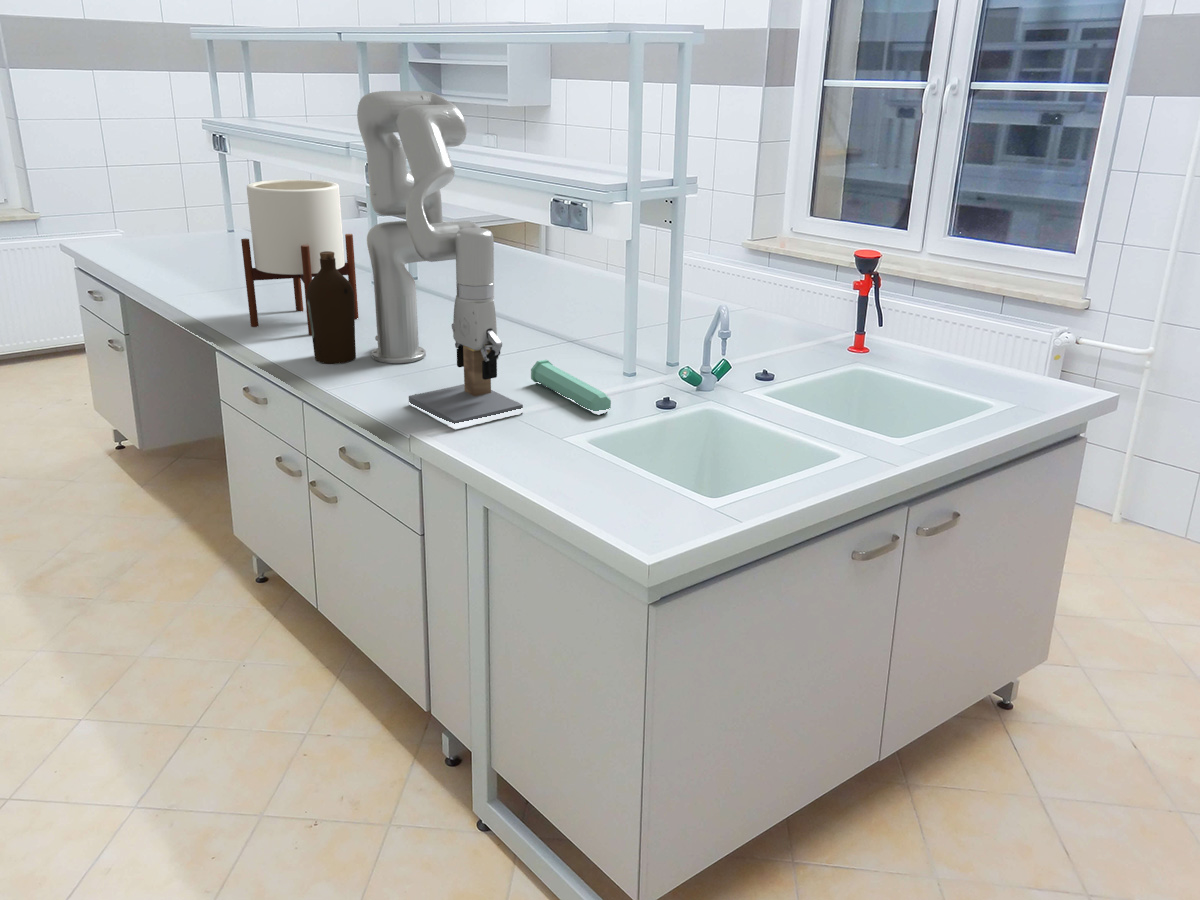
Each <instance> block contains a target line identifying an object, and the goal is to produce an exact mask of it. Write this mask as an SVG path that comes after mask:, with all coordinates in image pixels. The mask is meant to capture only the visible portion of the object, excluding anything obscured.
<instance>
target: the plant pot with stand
mask: <svg viewBox="0 0 1200 900" xmlns="http://www.w3.org/2000/svg"><path fill="white" fill-rule="evenodd" d="M340 194H341V193H340V185H339V184H338V183H336V182H334V181H328V180H319V179H304V178H303V179H299V178H298V179H296V178H295V179H294V178H292V179H291V178H290V179H270V180H262V181H255V182H251V183H249V184H247V185H246V195H247V204H248V212H249V221H250V222H249V223H250V230H251V231H250V232H251V240H252V250H251V245H250V243H251V242H250V238H241V240H240V243H241V250H242V257H243V259H242V260H243V267H244V269H243V270H244V276H245V277H244V278H245V287H246V294H247V296H246V297H247V302H248V303H247V304H248V312H249V320H250V321H249V322H250V327H251V328H257V326H258V327H259V325H260V324H259V315H258V308H257V299H256V289H255V281H268V280H285V279H292V281H293V293H294V304H295V311H296V312H297V311H302V312H304V301H303V300H304V299H303V292H302V291H303V290H302V283H303V285H304V287H303V288H304V296H305V297H304V298H305V307H306V308H305V310H306V317H307V318H306V320H307V321H306V322H307V331H308V332H307V333H308V336H310V337H312V332H311V325H310V318H309V311H308V304H307V295H306V294H307V288H308V285H309V283H310V282H311V281H312V279H313V278H314V277H315V276H316V275H317V273H318V272H319V271H320V269H321V265H320V258H321V257H320V253H321V252H325V251H331V252H334V258H335V263H336V269H337V270H338V271H339V272H340V273H341V274H342V275H343V276H347V280H348V281H349V282H350V284H351V286H352V288H353V291H354V314H355V320H358V319H359V306H358V304H359V303H358V290H357V276H356V275H357V274H356V262H355V260H356V259H355V249H354V247H355V246H354V236H353V233H345V235H344V236H345V240H344V237H343V220H342V210H341V196H340ZM344 241H345V248H344ZM344 249H345V250H344ZM251 251H253V258H254V259H253V260H254V267H253V260H252V253H251ZM345 251H346V262H345ZM357 318H358V319H357Z"/></svg>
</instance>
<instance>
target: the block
mask: <svg viewBox="0 0 1200 900" xmlns="http://www.w3.org/2000/svg"><path fill="white" fill-rule="evenodd" d="M484 346H485V345H484ZM486 351H487V353H489V352H490V349H489V350H486ZM463 355H464V367H463V379H464V380H463V382H464V390H465V392H467V393H469V394H471V395H473V396H478V395H483V394H487V393H491V390H492V382H491V381H492V378H491V379H487V380H484V379H483V378H482V361H483V360H484V358H483V355H482V353H481V350H478V351H475V350H473V349H470V348H468V347H466V346H464V345H463Z"/></svg>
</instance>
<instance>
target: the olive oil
mask: <svg viewBox="0 0 1200 900" xmlns="http://www.w3.org/2000/svg"><path fill="white" fill-rule="evenodd" d="M320 257H321V258H320V265H321V269H320V271H319V272H318V273H317V275H316V276H315V277H312V281H311V282H310V283H309V285H308V288H307V294H306V295H307V304H308V311H309V318H310V325H311V332H312V336H311V338H312V346H313V354H314V360H315V361H316V362H318V363H320V364H325V365H337V364H346V363H349V362H352V361H355V359H356V358H357V355H356V353H357V351H356V350H357V348H356V327H355V325H356V324H355V323H356V322H355V321H356V319H355V314H354V291H353V288H352V286H351V284H350V282H349V281H348V278H346V277H345V275H342V274H341V273H340V272H339V271H338V270H337V269H336V263H335V258H334V252H331V251H325V252H321V253H320Z"/></svg>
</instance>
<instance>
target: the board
mask: <svg viewBox="0 0 1200 900" xmlns="http://www.w3.org/2000/svg"><path fill="white" fill-rule="evenodd" d="M409 402H410V403H411V404H413V405H415V406H417V407H419V408H421V409H423V410H425V411H427V412H429V413H431V414H433V415H435V416H437V417H439V418H442V419H444V420H446V421H449V422H452V423H454V424H455V423H459V422H464V421H469V420H473V419H478V418H482V417H487V416H491V415H496V414H500V413H504V412H508V411H512V410H516V409H521V408H523V409H524V406H523V404H522V403H519V402H518V401H516V400H514V399H511V398H509V397H508V396H505V395H503V394H501V393H498V392H496V391H495V390H493V389H491V393H487V394H483V395H478V396H473V395H471V394H469V393H467V392H465V390H464V384H459V385H454V386H450V387H445V388H439V389H436V390H430V391H426V392H422V393H418V394H417V393H416V394H411V395H408V403H409Z"/></svg>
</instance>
